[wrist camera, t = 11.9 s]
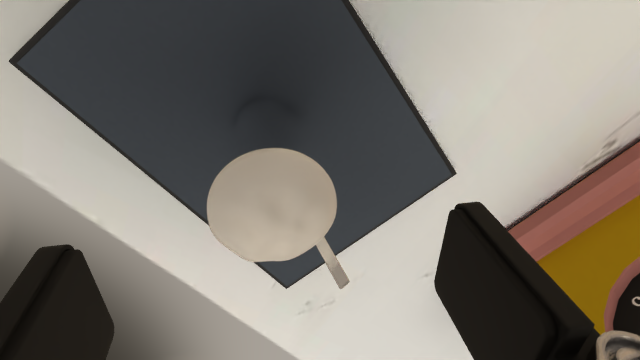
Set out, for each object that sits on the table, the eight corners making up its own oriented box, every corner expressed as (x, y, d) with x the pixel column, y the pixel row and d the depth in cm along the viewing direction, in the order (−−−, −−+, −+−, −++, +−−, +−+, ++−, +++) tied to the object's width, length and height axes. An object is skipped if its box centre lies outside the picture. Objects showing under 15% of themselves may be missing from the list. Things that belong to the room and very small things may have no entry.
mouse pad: (11, 60, 17) (5, 62, 17) (241, -169, 15) (241, -173, 14) (286, 286, 27) (286, 291, 26) (454, 171, 24) (458, 175, 24)
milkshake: (281, 185, 22) (300, 324, 13) (204, 131, 20) (168, 256, 11) (335, 130, 21) (393, 244, 12) (260, 65, 19) (267, 149, 10)
